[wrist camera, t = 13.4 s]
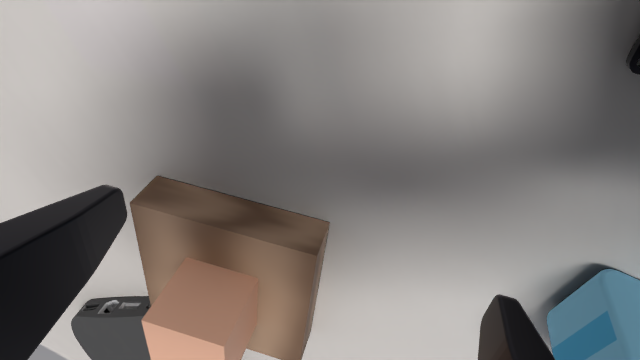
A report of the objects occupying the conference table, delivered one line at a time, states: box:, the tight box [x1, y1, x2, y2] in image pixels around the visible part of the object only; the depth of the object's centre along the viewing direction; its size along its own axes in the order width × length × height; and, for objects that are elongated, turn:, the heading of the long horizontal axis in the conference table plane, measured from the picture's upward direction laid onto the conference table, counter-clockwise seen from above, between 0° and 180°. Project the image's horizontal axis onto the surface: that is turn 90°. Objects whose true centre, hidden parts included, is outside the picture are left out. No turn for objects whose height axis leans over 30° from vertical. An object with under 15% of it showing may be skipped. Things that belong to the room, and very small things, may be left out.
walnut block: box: [130, 176, 330, 360], centre depth 30 cm, size 12×12×3 cm
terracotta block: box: [141, 257, 258, 360], centre depth 27 cm, size 5×5×5 cm
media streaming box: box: [71, 297, 151, 360], centre depth 41 cm, size 15×15×3 cm
